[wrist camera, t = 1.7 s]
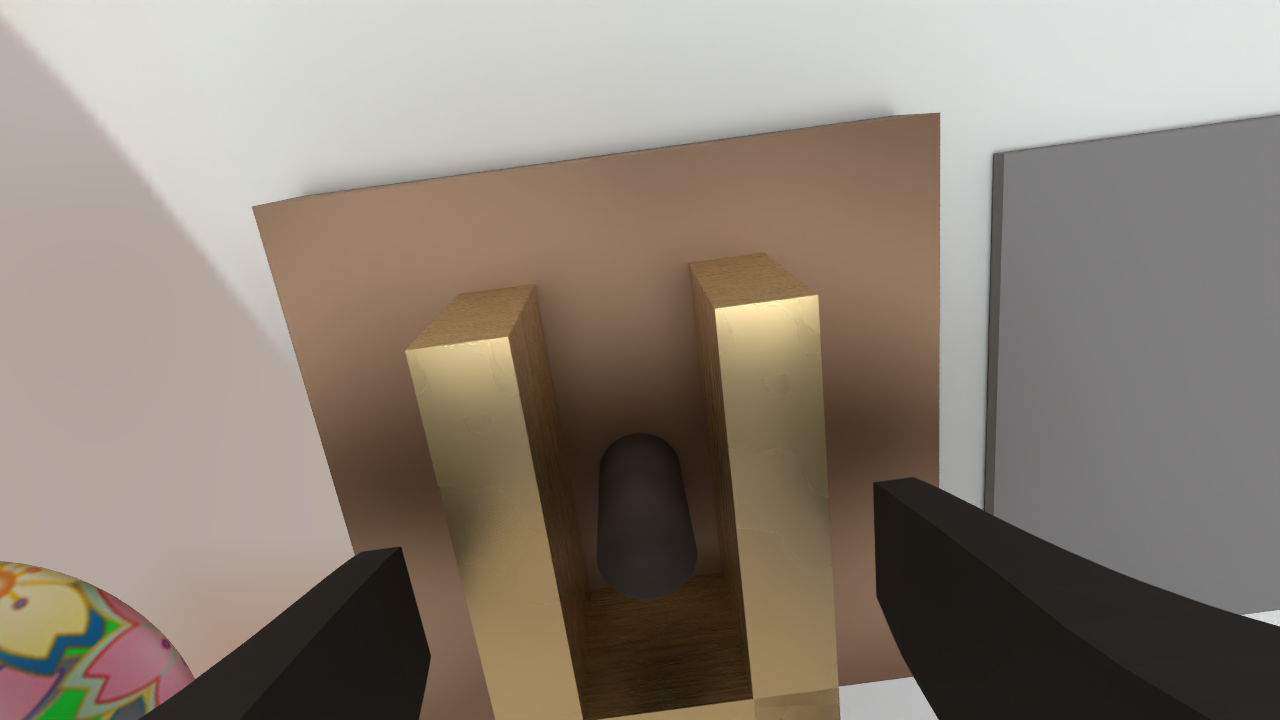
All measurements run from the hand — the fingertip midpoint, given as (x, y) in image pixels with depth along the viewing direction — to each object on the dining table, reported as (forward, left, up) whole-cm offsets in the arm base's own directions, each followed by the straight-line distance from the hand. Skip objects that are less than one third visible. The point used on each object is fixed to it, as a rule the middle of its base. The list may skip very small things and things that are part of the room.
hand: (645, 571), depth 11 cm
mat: (-1, -14, -6) cm, 15 cm away
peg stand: (0, 0, -6) cm, 6 cm away
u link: (0, 0, -4) cm, 4 cm away
